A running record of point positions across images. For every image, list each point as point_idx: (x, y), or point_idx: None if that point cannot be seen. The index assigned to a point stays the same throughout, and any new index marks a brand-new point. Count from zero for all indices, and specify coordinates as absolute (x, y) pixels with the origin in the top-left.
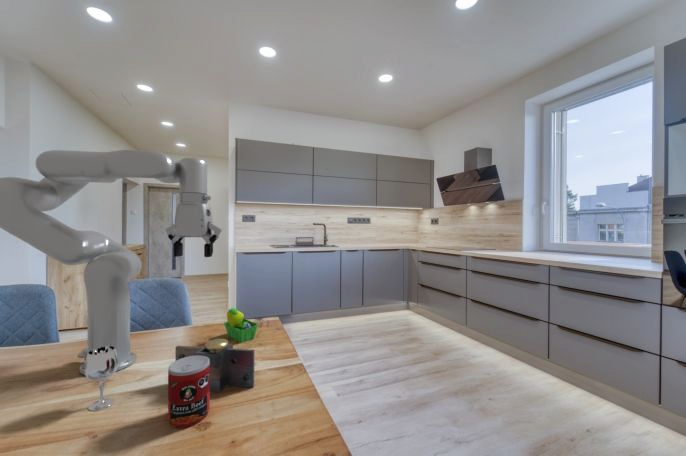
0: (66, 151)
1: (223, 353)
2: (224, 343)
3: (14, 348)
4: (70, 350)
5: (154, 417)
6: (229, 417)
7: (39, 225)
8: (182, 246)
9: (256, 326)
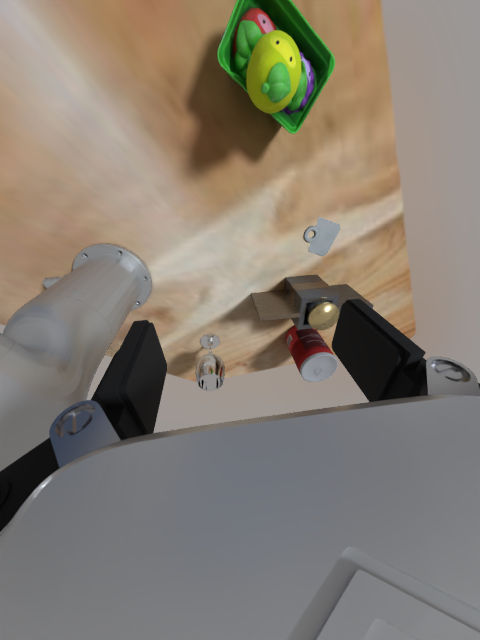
0: None
1: None
2: (336, 317)
3: None
4: None
5: (272, 342)
6: (334, 329)
7: None
8: (133, 368)
9: (330, 74)
